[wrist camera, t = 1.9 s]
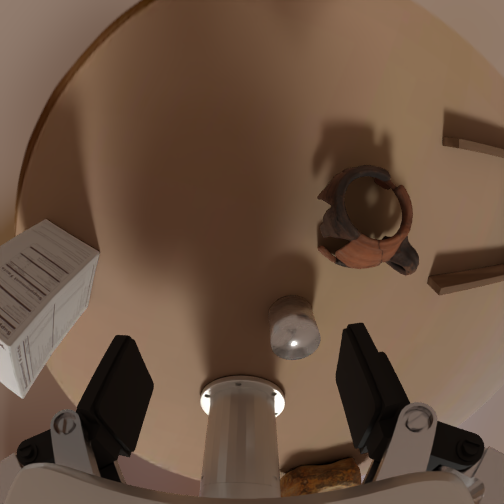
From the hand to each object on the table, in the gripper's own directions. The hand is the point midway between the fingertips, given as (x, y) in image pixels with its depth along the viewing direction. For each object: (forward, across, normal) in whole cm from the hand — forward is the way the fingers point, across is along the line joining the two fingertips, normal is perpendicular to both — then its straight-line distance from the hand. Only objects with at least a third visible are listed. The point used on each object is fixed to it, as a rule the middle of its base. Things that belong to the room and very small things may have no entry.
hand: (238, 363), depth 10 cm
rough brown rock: (+18, -15, +62) cm, 66 cm away
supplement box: (+18, +23, +3) cm, 29 cm away
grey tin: (+18, -4, +11) cm, 22 cm away
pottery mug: (+18, -12, 0) cm, 22 cm away
